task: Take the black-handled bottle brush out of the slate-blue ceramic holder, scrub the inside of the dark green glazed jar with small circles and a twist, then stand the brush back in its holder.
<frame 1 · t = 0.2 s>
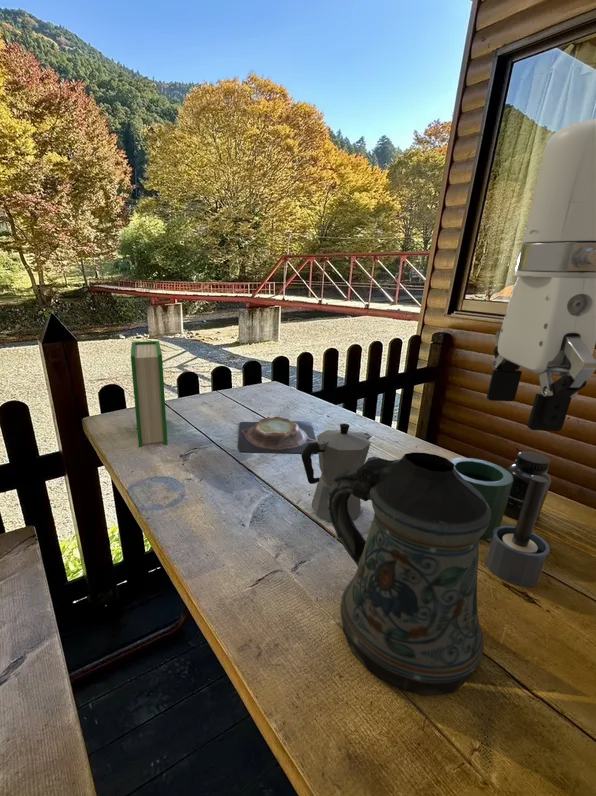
hand: (519, 413, 49), 28 cm above the table, tool pointing down, fingers open, 9 cm apart
holder: (510, 571, 64), on the table
jar: (465, 523, 75), on the table
supplement bottle: (516, 514, 78), on the table
coffeepot: (331, 511, 79), on the table
beer stein: (391, 634, 53), on the table
hardback book: (152, 433, 115), on the table
brush: (511, 569, 63), resting on holder
quiche: (277, 436, 112), on the table
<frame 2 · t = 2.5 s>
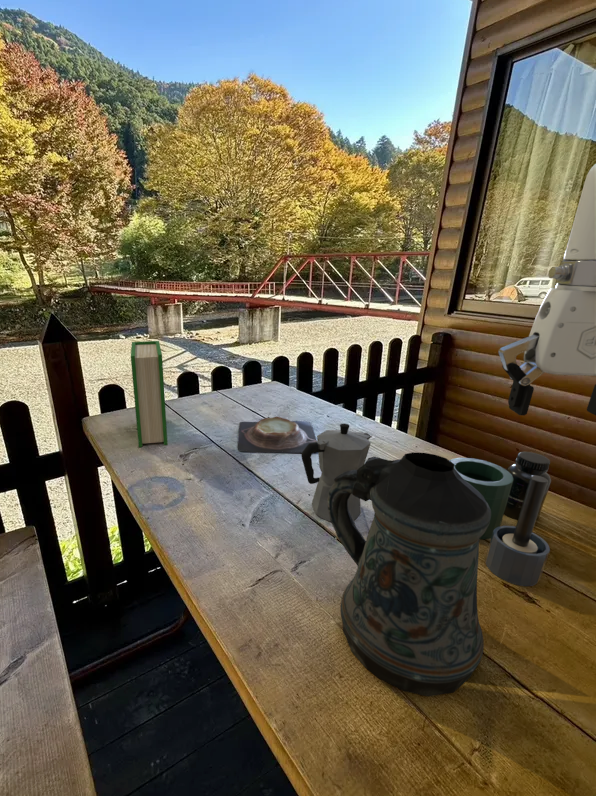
hand: (556, 413, 54), 26 cm above the table, tool pointing down, fingers open, 9 cm apart
nothing on the table moved.
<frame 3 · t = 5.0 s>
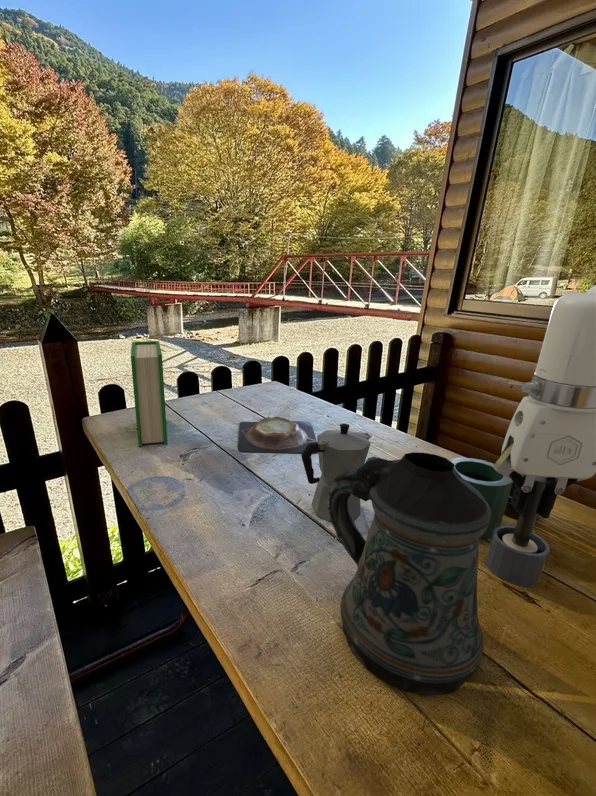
hand: (529, 511, 60), 11 cm above the table, tool pointing down, fingers closed on brush, 2 cm apart
brush: (511, 569, 63), point 1 cm above the table, touching gripper, holder
everything else where it was.
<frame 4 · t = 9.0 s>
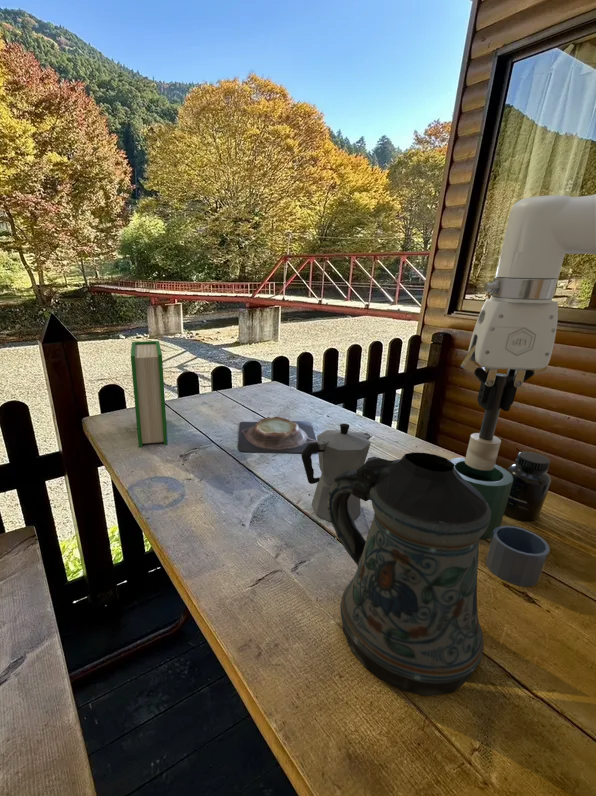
hand: (493, 407, 67), 23 cm above the table, tool pointing down, fingers closed on brush
brush: (479, 464, 71), point 12 cm above the table, touching gripper
everything else where it was.
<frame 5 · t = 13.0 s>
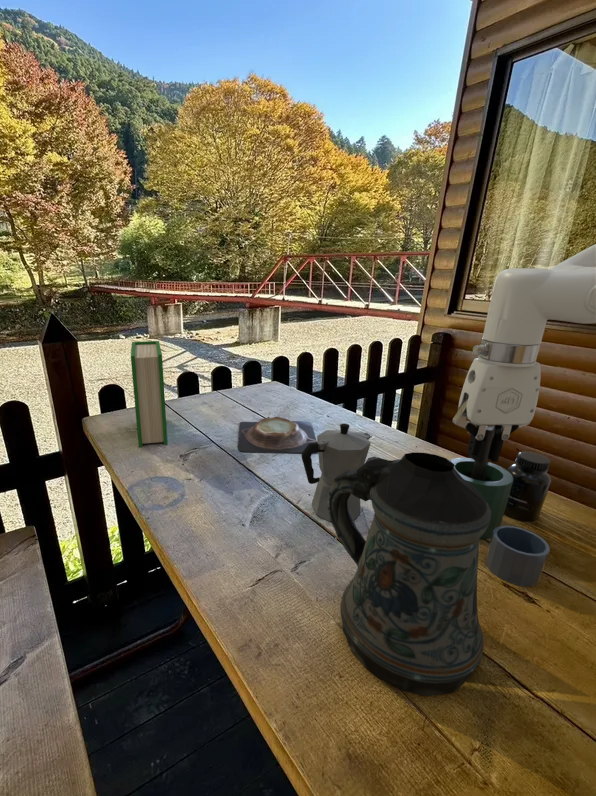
hand: (482, 457, 70), 14 cm above the table, tool pointing down, fingers closed on brush, 2 cm apart
brush: (469, 509, 74), point 3 cm above the table, touching gripper
everything else where it was.
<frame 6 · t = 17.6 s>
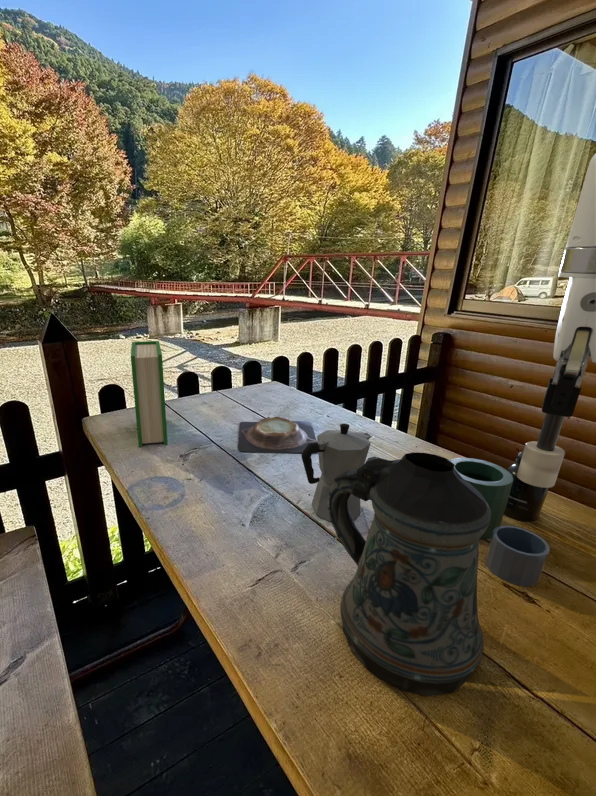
hand: (556, 410, 54), 27 cm above the table, tool pointing down, fingers closed on brush
brush: (535, 479, 58), point 16 cm above the table, touching gripper
everything else where it was.
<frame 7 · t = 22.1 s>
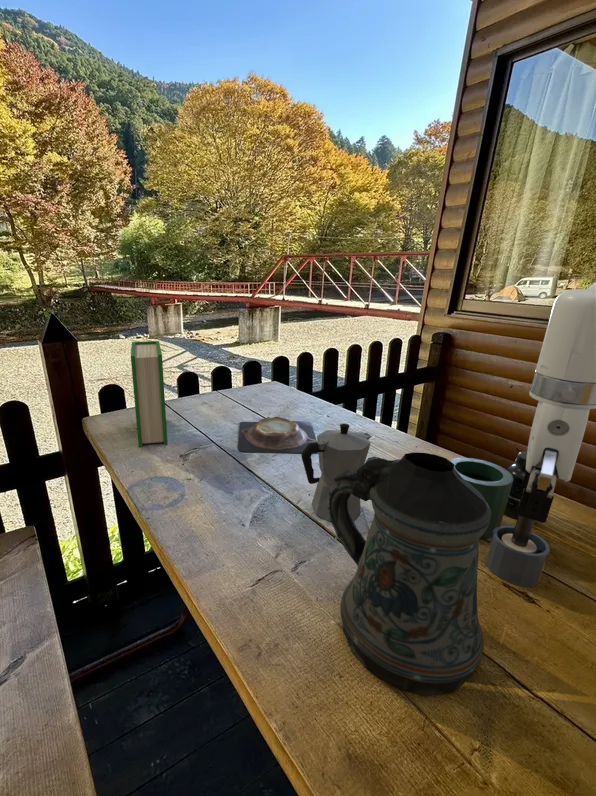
hand: (532, 501, 59), 13 cm above the table, tool pointing down, fingers open, 9 cm apart
brush: (510, 569, 63), resting on holder
everything else where it was.
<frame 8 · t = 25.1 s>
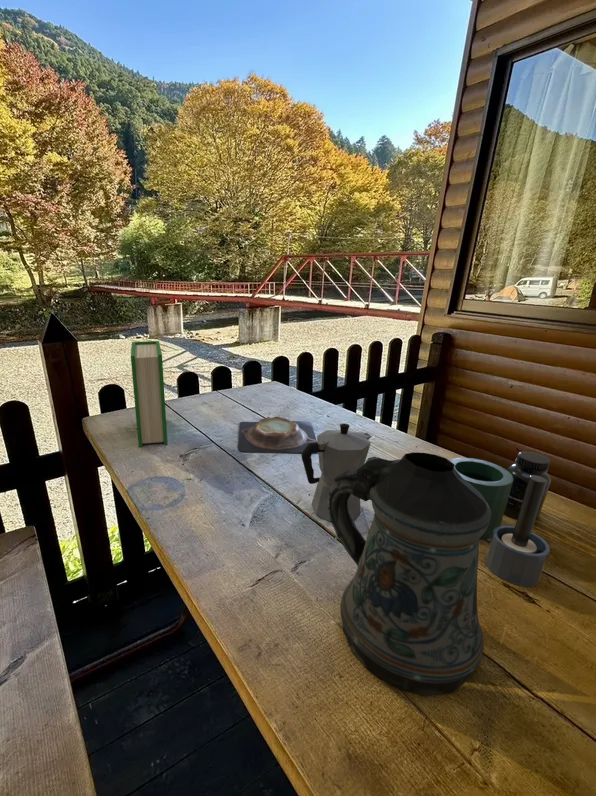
nothing on the table moved.
at the end: brush 0.1 cm off-centre in the holder, point 0.5 cm above the holder's base; brush tilted 0°; jar moved 0.0 cm from its start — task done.
